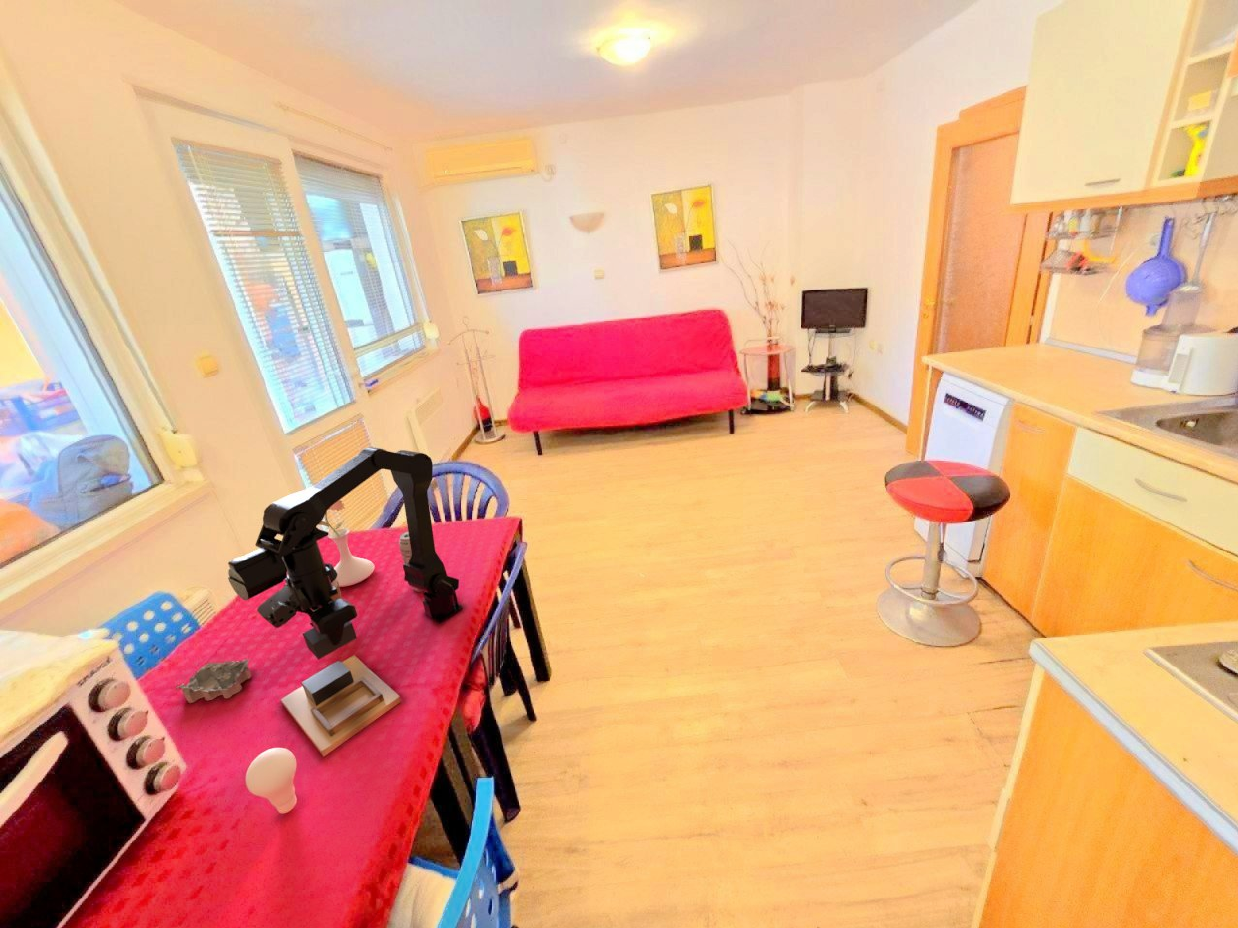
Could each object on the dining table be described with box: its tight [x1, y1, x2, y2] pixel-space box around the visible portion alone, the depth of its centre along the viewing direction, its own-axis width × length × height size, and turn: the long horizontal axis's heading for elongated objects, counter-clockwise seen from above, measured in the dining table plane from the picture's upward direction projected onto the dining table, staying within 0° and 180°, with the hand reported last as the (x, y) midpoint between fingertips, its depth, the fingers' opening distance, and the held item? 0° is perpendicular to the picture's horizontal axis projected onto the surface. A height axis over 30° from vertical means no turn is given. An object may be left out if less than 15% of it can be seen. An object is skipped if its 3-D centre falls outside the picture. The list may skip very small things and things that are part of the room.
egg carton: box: [174, 658, 252, 704], centre depth 101 cm, size 11×8×4 cm
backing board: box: [279, 654, 402, 757], centre depth 94 cm, size 14×19×4 cm
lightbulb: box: [245, 747, 298, 814], centre depth 74 cm, size 6×6×11 cm
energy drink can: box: [398, 530, 422, 593], centre depth 126 cm, size 6×6×15 cm
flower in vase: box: [318, 499, 376, 588], centre depth 131 cm, size 13×11×25 cm
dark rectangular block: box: [302, 621, 358, 660], centre depth 95 cm, size 7×5×4 cm
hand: (331, 638), depth 95 cm, fingers closed on dark rectangular block, 5 cm apart
